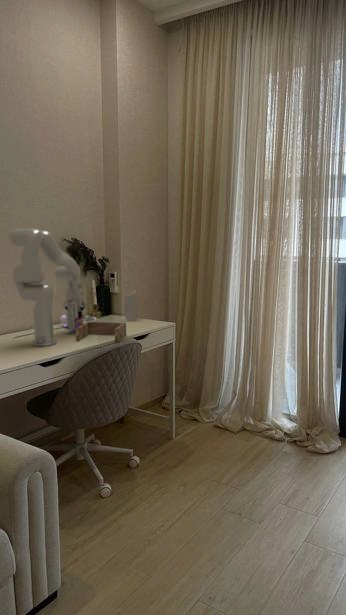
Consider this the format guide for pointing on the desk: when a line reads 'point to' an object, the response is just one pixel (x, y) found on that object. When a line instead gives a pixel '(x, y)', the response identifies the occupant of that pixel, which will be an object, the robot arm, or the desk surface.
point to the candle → (130, 307)
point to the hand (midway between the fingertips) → (75, 317)
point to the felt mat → (72, 332)
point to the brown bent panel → (101, 330)
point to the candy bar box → (73, 315)
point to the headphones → (87, 318)
